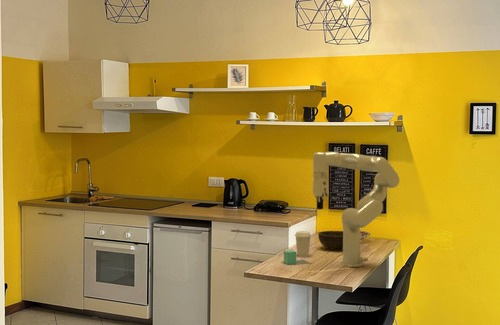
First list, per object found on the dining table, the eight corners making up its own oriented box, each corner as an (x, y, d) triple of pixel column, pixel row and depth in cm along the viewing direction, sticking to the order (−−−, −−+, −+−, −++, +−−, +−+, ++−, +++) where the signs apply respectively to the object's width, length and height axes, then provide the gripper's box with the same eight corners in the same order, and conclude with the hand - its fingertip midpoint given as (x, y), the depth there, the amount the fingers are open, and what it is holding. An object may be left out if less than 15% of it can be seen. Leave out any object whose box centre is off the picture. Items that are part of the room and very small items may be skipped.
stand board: (303, 261, 333) (303, 259, 333) (311, 265, 323) (311, 263, 323) (281, 263, 328) (281, 261, 328) (288, 267, 318) (288, 265, 318)
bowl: (352, 246, 380) (352, 231, 379) (352, 253, 358) (352, 237, 358) (319, 245, 384) (319, 230, 383) (317, 251, 362) (317, 235, 362)
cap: (292, 261, 327) (292, 250, 327) (296, 263, 322) (296, 251, 322) (283, 262, 325) (283, 250, 325) (287, 264, 321) (287, 252, 320)
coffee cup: (291, 257, 345) (291, 232, 344) (301, 255, 352) (301, 230, 351) (304, 260, 338) (304, 234, 337) (314, 257, 345) (314, 232, 344)
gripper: (333, 176, 310) (332, 210, 310) (319, 174, 323) (319, 207, 324) (320, 176, 307) (320, 211, 308) (307, 174, 321) (307, 207, 321)
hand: (319, 209), depth 316 cm, fingers closed
